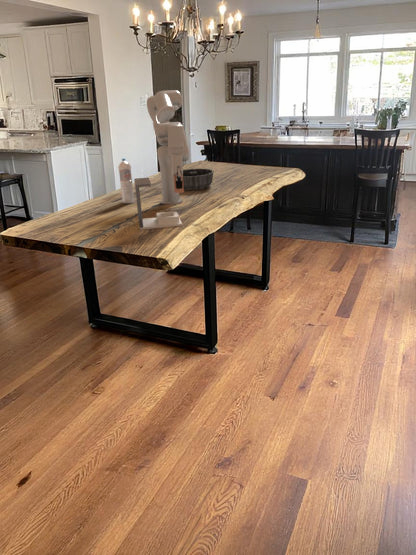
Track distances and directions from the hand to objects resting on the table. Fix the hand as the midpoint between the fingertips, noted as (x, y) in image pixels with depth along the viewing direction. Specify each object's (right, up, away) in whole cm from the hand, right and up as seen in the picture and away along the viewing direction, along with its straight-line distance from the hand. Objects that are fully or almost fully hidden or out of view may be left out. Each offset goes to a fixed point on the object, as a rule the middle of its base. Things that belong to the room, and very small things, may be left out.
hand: (178, 187), depth 235 cm
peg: (0, -2, +1) cm, 2 cm away
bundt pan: (+6, +11, +62) cm, 63 cm away
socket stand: (-9, -19, -9) cm, 23 cm away
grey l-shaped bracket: (-15, -19, -10) cm, 26 cm away
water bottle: (-31, -3, +33) cm, 45 cm away
